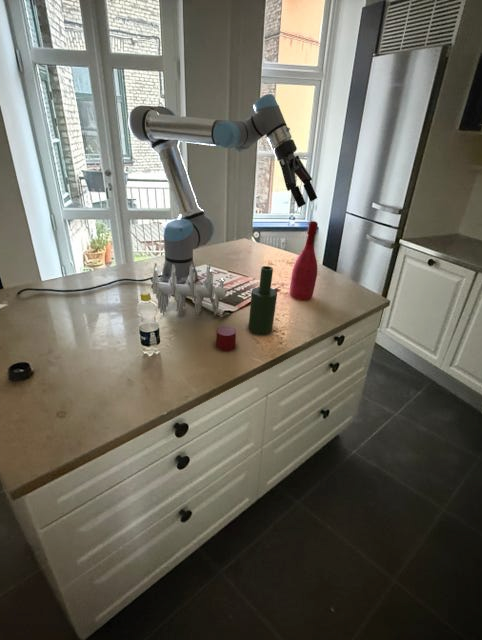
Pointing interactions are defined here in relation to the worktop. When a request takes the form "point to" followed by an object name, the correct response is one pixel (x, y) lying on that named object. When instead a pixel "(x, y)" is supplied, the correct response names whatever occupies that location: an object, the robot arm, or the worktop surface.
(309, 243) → the wine bottle
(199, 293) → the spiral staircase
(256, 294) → the oil bottle
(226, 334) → the cap
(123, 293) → the worktop surface
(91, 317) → the worktop surface
